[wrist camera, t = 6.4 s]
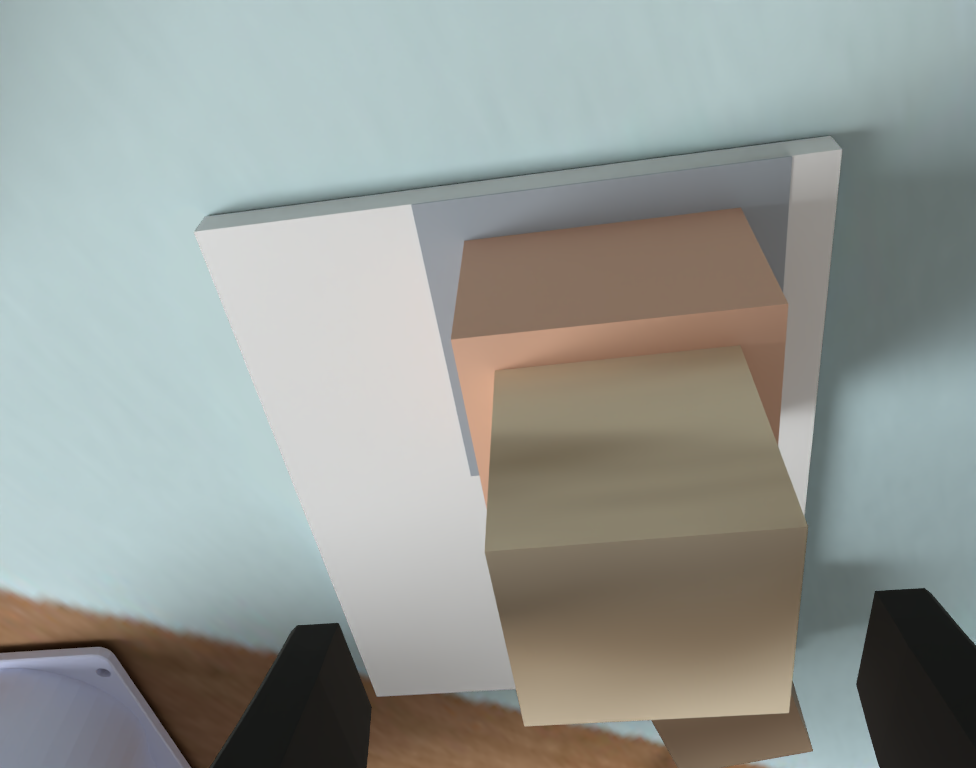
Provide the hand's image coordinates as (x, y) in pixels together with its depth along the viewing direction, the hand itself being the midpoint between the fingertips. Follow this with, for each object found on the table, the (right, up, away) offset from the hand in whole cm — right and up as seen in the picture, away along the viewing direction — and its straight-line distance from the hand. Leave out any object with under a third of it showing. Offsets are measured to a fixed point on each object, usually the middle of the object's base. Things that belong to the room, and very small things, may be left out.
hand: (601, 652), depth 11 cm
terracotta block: (+1, +5, +8) cm, 10 cm away
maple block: (+1, +2, +5) cm, 6 cm away
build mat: (0, +1, +12) cm, 12 cm away
